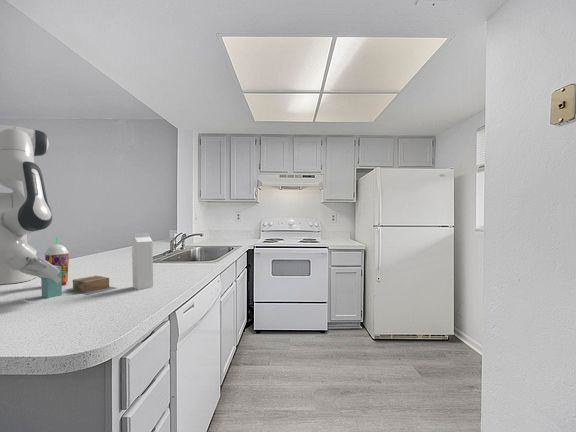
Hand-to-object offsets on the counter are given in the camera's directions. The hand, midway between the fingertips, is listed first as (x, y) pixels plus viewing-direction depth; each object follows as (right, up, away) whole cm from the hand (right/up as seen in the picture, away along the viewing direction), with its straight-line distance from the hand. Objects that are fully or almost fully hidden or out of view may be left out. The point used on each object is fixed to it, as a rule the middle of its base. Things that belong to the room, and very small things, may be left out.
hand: (53, 280), depth 121 cm
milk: (+27, -6, +13) cm, 30 cm away
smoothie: (-10, -6, +17) cm, 20 cm away
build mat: (+8, -6, +10) cm, 14 cm away
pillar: (0, -6, 0) cm, 6 cm away
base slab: (+8, -5, +10) cm, 14 cm away
